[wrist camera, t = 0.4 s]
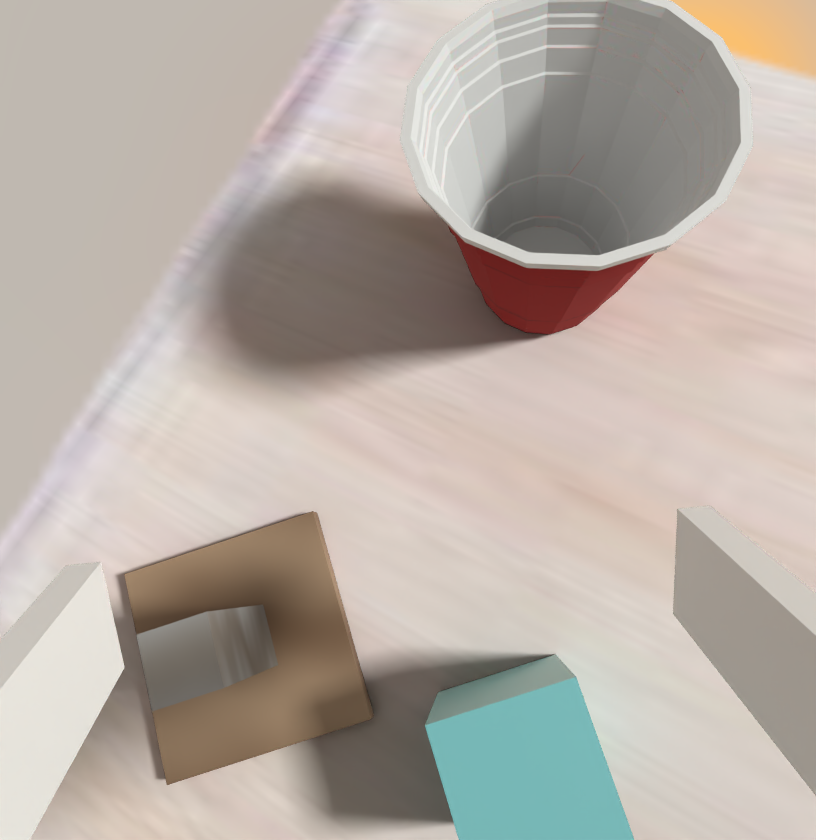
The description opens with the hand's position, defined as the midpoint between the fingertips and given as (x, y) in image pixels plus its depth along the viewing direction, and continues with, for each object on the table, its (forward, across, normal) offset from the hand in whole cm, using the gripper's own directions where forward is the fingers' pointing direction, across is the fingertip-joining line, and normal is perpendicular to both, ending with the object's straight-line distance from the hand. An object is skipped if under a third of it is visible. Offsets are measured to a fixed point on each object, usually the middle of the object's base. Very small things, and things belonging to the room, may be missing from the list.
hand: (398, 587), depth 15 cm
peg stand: (+13, +7, +9) cm, 17 cm away
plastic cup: (+19, -8, -5) cm, 21 cm away
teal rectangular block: (+9, -4, +13) cm, 16 cm away
